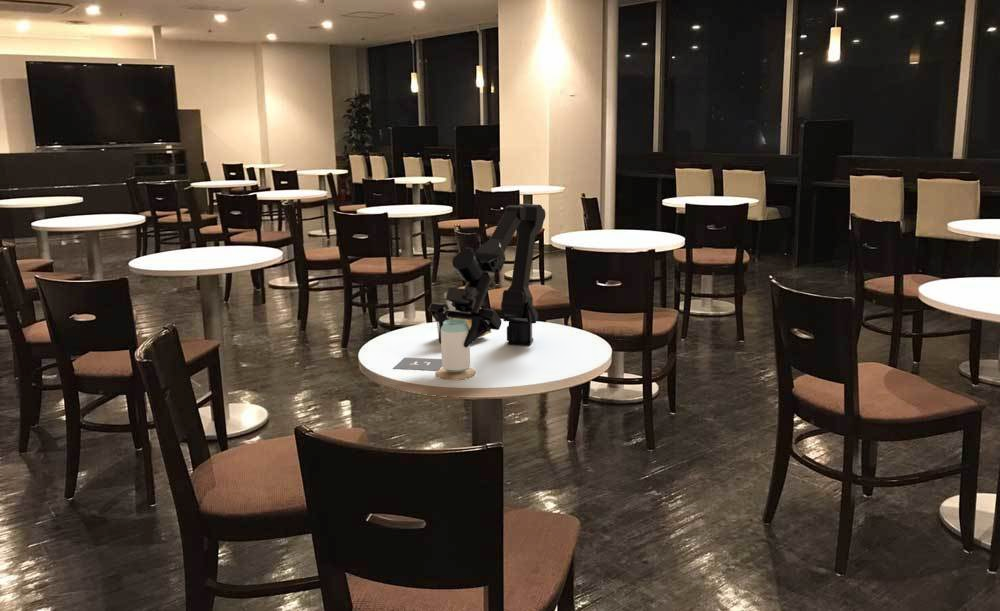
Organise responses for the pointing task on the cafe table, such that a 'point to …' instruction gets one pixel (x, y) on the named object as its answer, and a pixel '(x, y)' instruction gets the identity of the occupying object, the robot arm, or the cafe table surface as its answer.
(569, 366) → the cafe table surface
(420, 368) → the grey flat pad
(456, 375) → the cork coaster
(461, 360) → the can
